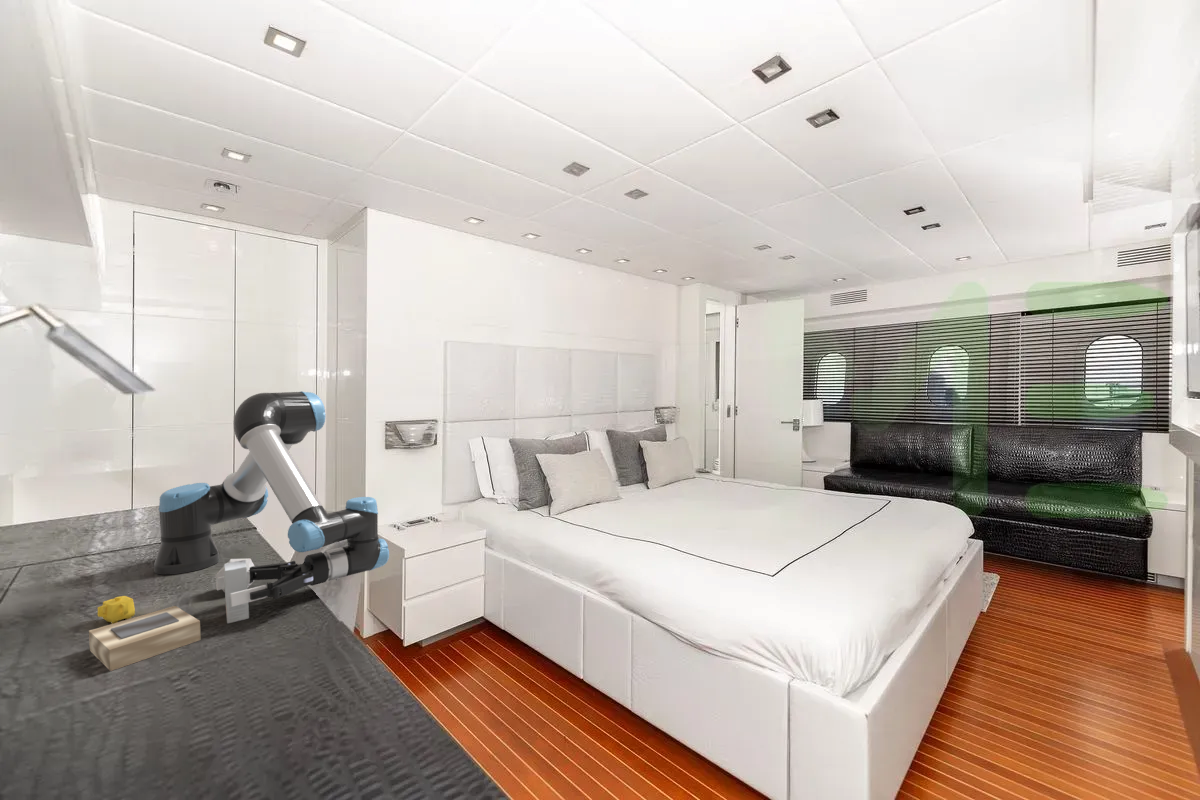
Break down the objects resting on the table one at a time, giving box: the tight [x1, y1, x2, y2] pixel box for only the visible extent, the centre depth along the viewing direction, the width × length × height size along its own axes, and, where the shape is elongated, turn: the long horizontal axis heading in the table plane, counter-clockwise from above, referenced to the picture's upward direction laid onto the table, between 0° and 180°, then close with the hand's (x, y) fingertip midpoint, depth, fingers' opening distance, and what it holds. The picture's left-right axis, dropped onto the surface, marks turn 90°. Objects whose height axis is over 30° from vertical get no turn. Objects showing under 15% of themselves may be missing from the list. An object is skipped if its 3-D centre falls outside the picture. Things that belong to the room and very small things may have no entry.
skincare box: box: [223, 560, 250, 624], centre depth 119 cm, size 6×4×12 cm
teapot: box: [96, 595, 136, 624], centre depth 119 cm, size 8×6×5 cm
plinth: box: [88, 605, 202, 672], centre depth 107 cm, size 14×14×4 cm
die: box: [214, 558, 256, 594], centre depth 135 cm, size 8×9×10 cm
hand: (223, 591), depth 117 cm, fingers open, 13 cm apart
